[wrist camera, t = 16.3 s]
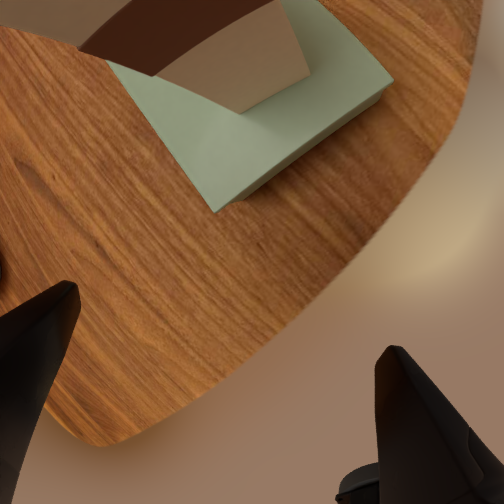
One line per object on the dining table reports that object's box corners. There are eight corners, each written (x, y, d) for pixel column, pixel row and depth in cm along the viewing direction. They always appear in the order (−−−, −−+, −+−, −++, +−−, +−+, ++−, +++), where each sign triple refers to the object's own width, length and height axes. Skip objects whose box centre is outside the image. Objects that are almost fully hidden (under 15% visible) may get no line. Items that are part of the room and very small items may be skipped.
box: (384, 100, 16) (395, 80, 12) (241, 205, 20) (213, 214, 16) (257, -25, 16) (236, -60, 12) (141, 71, 20) (102, 56, 16)
